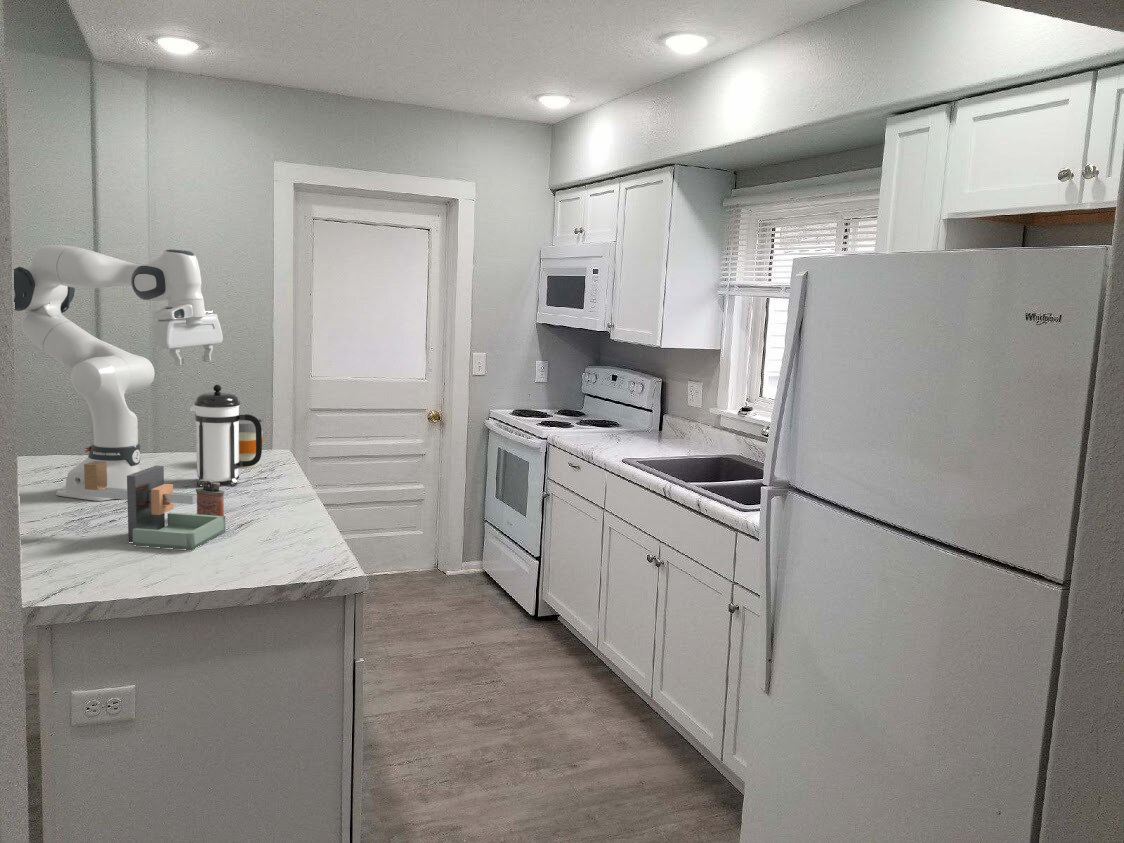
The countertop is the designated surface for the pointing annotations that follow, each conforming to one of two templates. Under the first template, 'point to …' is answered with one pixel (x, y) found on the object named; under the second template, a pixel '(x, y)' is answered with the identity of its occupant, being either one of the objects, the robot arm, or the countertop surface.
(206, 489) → the lighter
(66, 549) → the countertop surface
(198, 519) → the tray
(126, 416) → the robot arm
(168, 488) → the collar
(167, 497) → the shaft
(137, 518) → the bearing plate
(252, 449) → the reusable coffee cup
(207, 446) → the coffee press
